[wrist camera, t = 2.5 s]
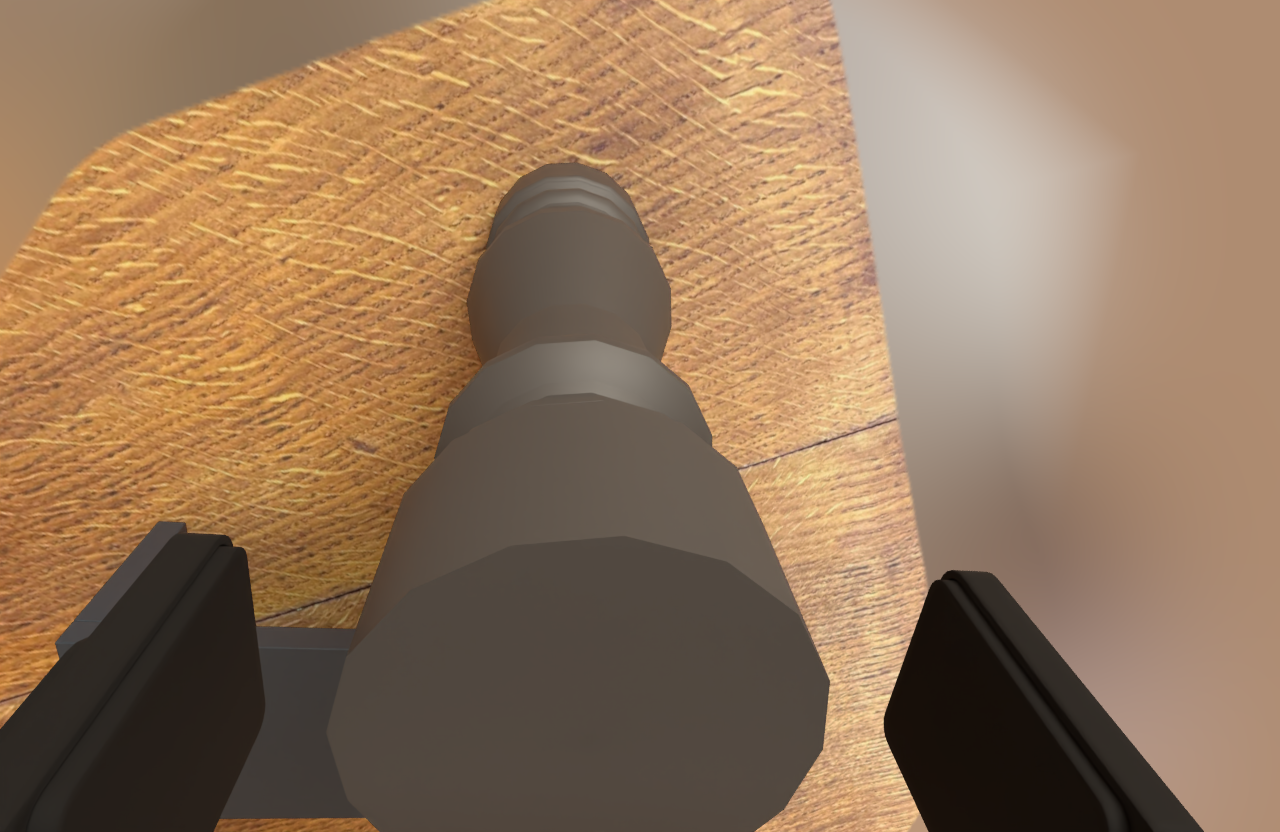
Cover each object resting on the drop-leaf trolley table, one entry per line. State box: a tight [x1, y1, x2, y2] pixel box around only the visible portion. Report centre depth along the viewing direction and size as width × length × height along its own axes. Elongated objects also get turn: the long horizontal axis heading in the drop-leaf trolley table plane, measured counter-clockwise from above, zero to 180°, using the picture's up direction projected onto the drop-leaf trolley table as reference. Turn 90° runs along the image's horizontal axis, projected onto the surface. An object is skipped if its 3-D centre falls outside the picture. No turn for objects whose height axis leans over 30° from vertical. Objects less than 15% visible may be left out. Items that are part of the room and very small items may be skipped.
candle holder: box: [326, 163, 830, 832], centre depth 20 cm, size 6×6×25 cm
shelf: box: [55, 521, 365, 819], centre depth 35 cm, size 20×10×8 cm, turn 83°
